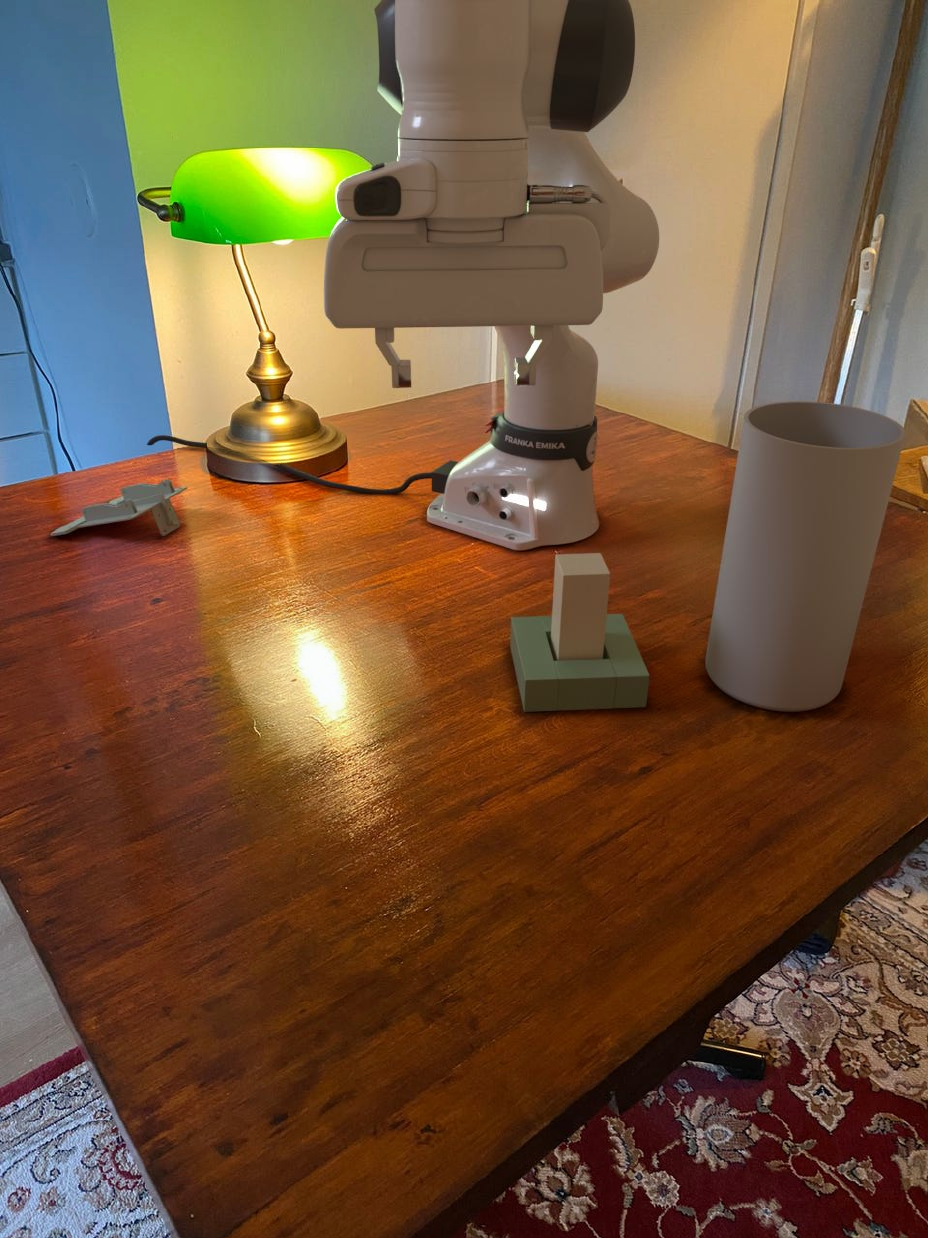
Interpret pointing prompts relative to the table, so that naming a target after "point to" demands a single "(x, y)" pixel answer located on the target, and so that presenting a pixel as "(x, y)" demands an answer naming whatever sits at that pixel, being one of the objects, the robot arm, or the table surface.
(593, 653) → the beige rectangular block
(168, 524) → the metal bracket
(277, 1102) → the table surface
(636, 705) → the block
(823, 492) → the cylinder vase
